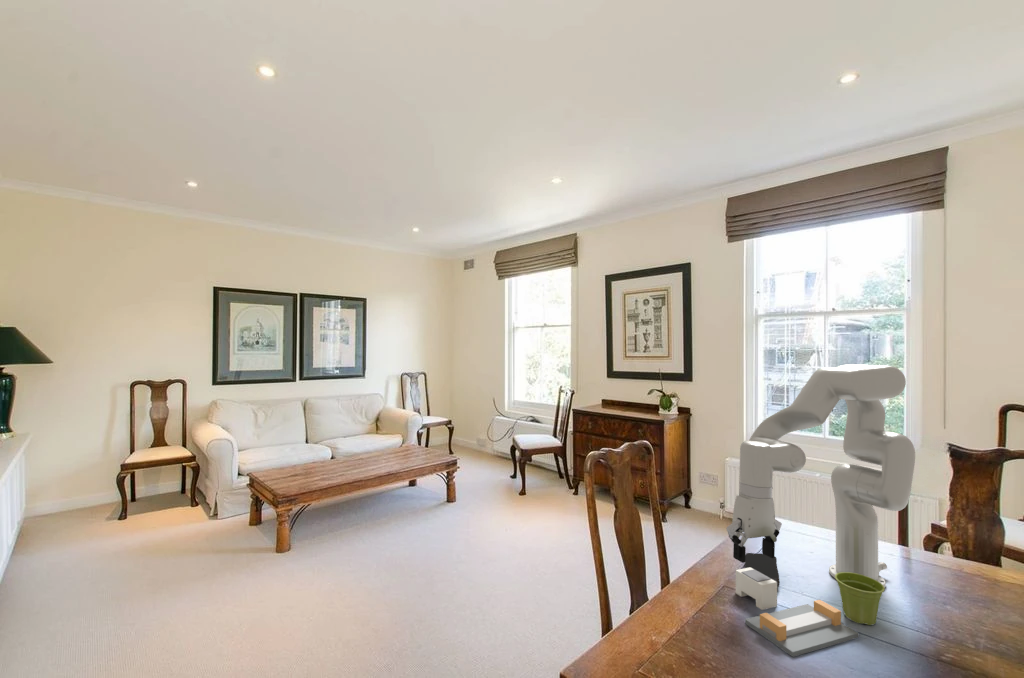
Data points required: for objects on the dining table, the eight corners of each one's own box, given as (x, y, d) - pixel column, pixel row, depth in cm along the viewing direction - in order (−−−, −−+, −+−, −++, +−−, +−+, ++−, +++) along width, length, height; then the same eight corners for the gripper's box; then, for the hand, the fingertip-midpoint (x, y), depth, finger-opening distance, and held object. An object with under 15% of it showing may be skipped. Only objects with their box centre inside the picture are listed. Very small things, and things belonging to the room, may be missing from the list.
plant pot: (872, 634, 101) (872, 595, 102) (827, 612, 110) (827, 576, 110) (892, 623, 106) (892, 586, 106) (847, 603, 114) (847, 568, 114)
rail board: (807, 608, 112) (807, 591, 112) (858, 637, 100) (858, 619, 100) (745, 623, 105) (745, 606, 105) (792, 656, 94) (792, 637, 94)
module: (750, 590, 120) (750, 566, 120) (777, 606, 112) (777, 581, 112) (735, 593, 118) (735, 569, 118) (761, 610, 111) (761, 584, 111)
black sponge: (780, 593, 119) (780, 579, 119) (744, 585, 123) (744, 572, 123) (776, 567, 133) (776, 555, 133) (744, 561, 137) (744, 549, 137)
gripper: (768, 484, 122) (766, 548, 122) (717, 488, 116) (716, 555, 116) (793, 492, 115) (792, 560, 115) (741, 497, 109) (739, 569, 109)
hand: (753, 558), depth 115 cm, fingers open, 9 cm apart
